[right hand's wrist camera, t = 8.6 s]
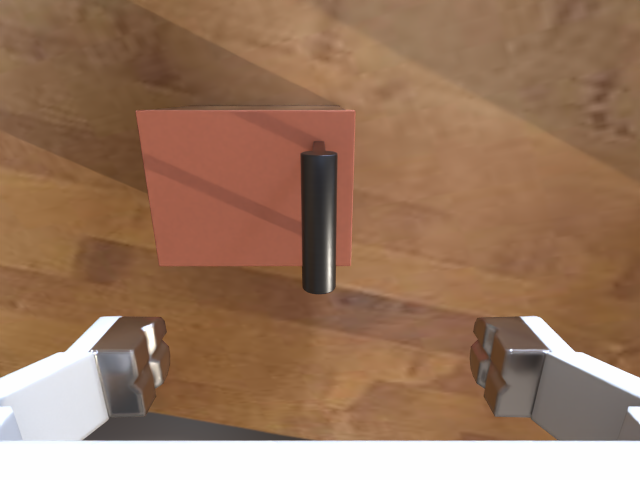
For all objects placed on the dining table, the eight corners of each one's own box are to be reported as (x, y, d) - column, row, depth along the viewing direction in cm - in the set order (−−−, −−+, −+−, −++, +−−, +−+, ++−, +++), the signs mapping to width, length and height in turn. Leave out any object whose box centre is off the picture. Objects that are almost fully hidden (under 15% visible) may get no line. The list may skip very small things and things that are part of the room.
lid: (354, 110, 25) (370, 117, 17) (349, 260, 28) (361, 322, 20) (142, 110, 24) (61, 116, 17) (164, 260, 28) (106, 322, 20)
